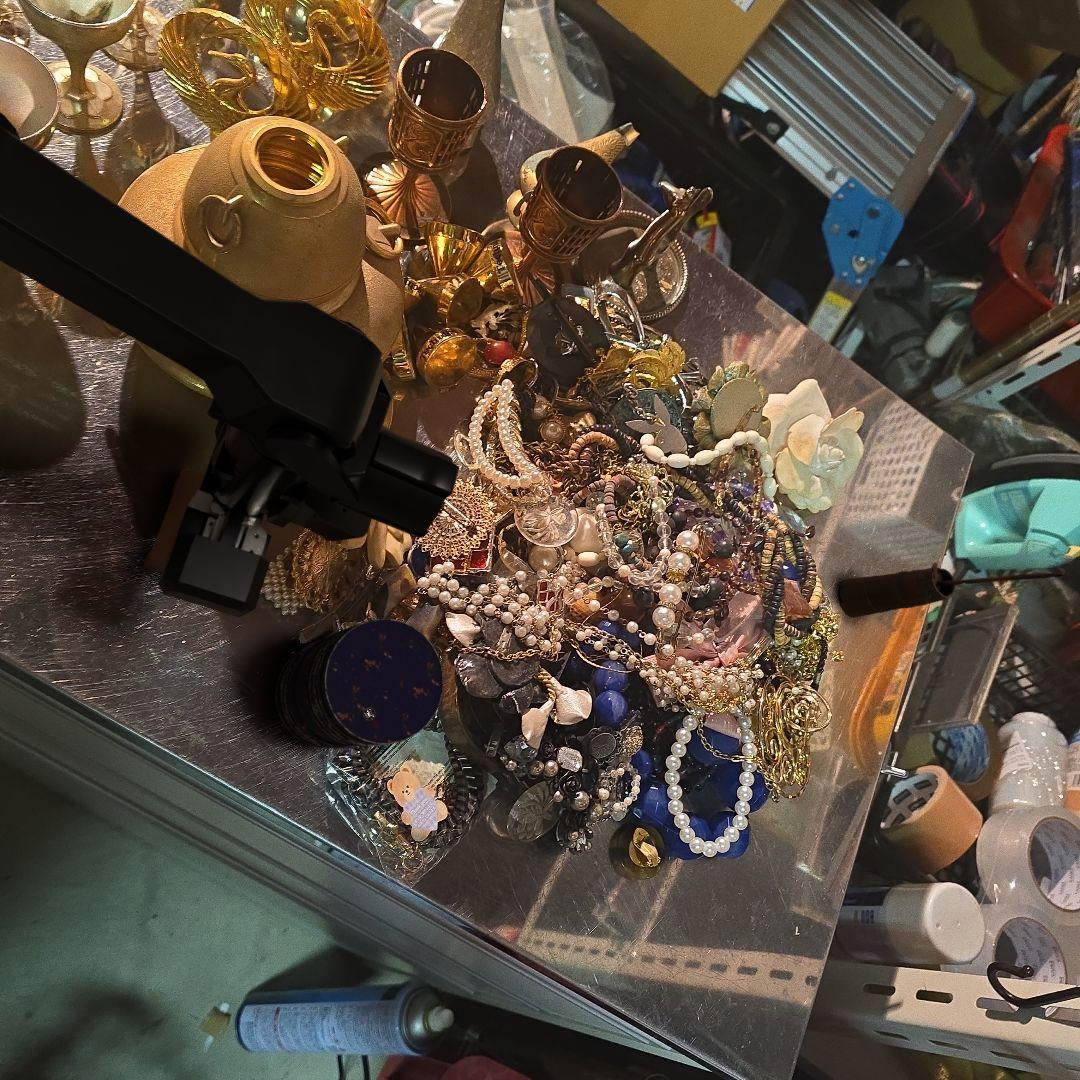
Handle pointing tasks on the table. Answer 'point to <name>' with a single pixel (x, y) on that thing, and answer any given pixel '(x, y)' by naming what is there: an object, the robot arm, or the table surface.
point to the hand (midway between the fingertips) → (223, 507)
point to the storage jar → (361, 686)
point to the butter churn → (908, 589)
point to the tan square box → (173, 518)
